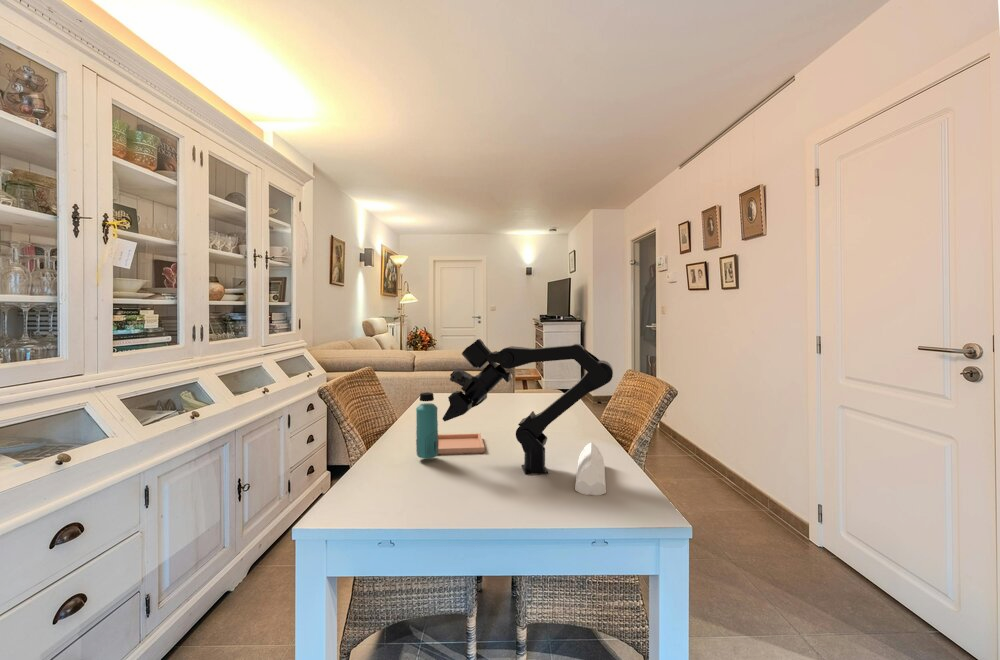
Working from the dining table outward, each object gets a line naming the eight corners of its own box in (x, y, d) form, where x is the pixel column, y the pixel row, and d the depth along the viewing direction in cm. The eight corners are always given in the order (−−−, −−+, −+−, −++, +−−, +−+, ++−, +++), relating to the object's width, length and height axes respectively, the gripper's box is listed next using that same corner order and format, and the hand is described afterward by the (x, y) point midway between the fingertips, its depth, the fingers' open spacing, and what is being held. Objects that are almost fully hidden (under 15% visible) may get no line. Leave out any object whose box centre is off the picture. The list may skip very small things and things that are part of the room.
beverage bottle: (436, 463, 127) (436, 395, 126) (413, 463, 127) (413, 394, 127) (440, 456, 134) (440, 391, 133) (418, 456, 134) (418, 390, 133)
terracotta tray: (484, 453, 137) (484, 447, 137) (432, 454, 135) (432, 449, 135) (480, 438, 153) (480, 433, 153) (433, 439, 151) (433, 434, 151)
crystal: (571, 449, 129) (566, 479, 106) (593, 438, 128) (593, 467, 104) (584, 472, 129) (582, 507, 105) (606, 461, 127) (609, 495, 104)
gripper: (477, 356, 135) (443, 390, 138) (455, 363, 117) (417, 402, 120) (502, 383, 133) (467, 417, 137) (483, 394, 115) (444, 432, 119)
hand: (449, 416), depth 128 cm, fingers open, 9 cm apart
